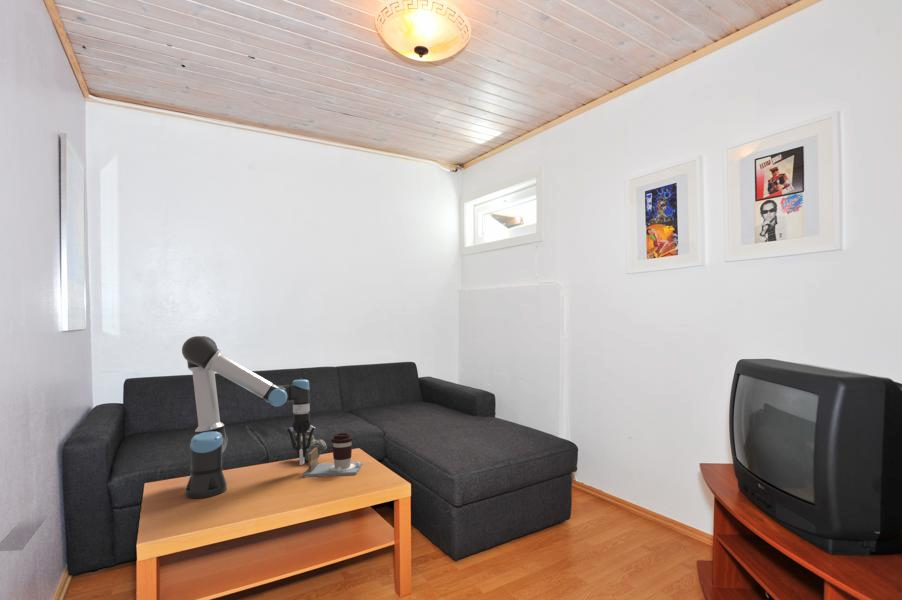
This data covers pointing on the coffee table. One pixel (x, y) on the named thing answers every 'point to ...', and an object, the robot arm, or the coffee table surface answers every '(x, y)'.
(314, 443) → the teapot
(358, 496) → the coffee table surface
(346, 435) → the coffee cup
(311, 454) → the panel
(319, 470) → the grey flat slab
